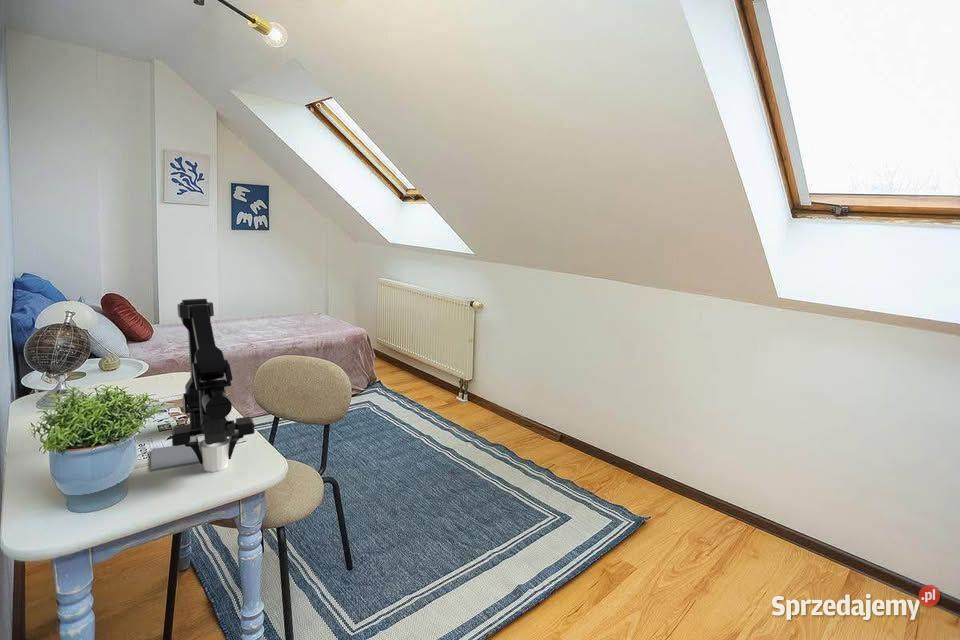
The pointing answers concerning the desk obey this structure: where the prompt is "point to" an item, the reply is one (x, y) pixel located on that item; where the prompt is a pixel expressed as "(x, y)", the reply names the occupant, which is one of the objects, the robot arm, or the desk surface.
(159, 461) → the coaster mat
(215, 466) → the white faceted cylinder
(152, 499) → the desk surface
